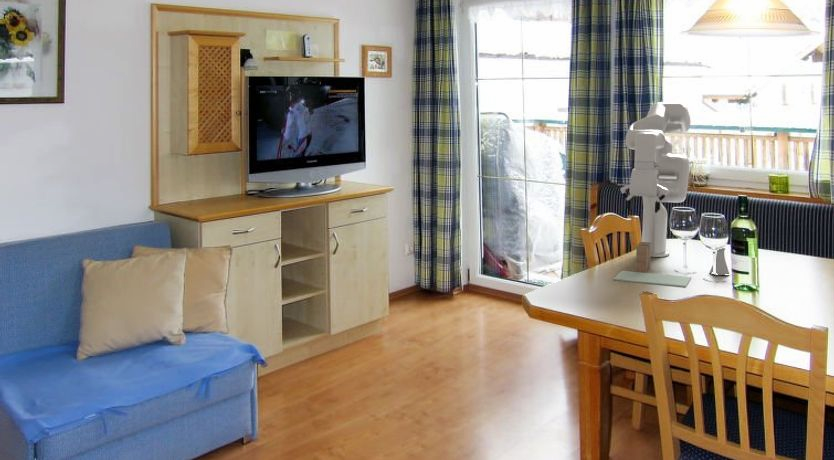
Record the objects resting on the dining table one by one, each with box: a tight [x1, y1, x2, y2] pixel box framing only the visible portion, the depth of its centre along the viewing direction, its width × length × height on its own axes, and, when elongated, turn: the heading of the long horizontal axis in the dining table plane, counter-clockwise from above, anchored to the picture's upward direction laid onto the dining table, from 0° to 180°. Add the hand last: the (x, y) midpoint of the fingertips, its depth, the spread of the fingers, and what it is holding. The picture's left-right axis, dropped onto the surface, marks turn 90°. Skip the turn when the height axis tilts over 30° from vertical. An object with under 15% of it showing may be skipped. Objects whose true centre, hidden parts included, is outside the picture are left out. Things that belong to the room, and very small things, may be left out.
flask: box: [709, 247, 730, 275], centre depth 282 cm, size 7×7×10 cm
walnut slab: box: [635, 241, 651, 273], centre depth 290 cm, size 8×4×10 cm, turn 153°
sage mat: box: [613, 270, 692, 288], centre depth 277 cm, size 13×25×1 cm, turn 63°
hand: (643, 211), depth 285 cm, fingers open, 9 cm apart
